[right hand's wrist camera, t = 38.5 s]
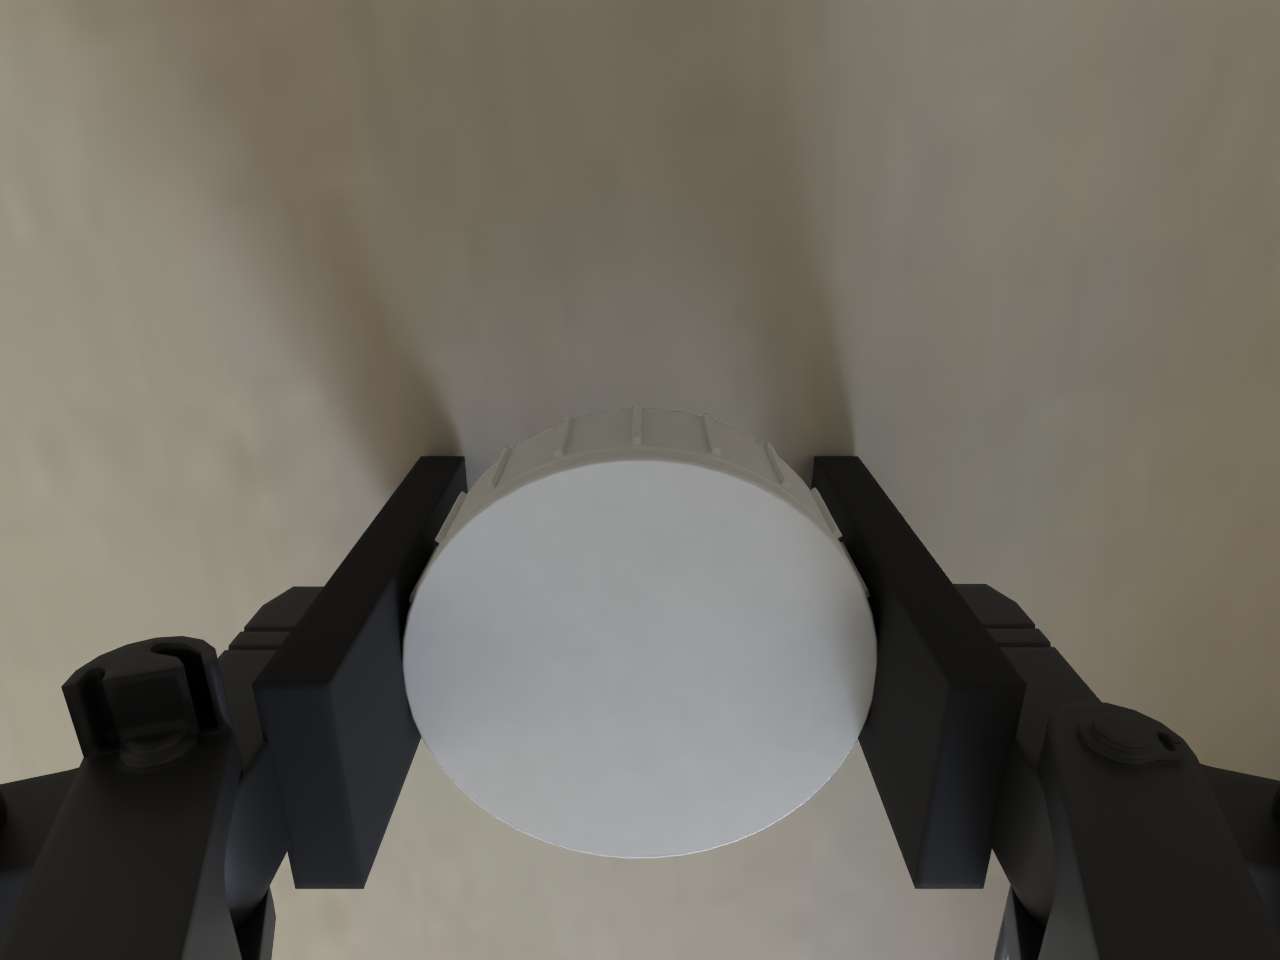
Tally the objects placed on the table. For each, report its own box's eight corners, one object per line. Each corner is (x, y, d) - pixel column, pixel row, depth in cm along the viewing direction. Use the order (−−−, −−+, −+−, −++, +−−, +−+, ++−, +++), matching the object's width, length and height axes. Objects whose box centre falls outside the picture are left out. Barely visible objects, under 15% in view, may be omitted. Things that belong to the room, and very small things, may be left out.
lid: (722, 812, 14) (735, 915, 12) (377, 678, 13) (332, 768, 11) (925, 516, 12) (980, 583, 10) (534, 326, 11) (510, 362, 9)
